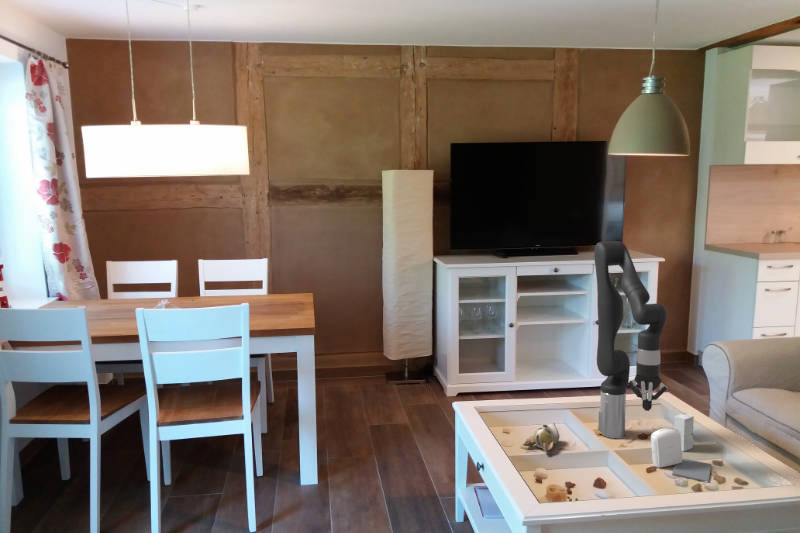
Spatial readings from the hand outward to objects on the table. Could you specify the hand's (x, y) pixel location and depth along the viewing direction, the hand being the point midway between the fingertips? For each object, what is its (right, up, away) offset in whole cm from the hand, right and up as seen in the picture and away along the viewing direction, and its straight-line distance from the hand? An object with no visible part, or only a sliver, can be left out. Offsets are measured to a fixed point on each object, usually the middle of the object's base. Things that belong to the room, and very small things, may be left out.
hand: (647, 410), depth 201 cm
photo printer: (+6, -18, -2) cm, 19 cm away
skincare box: (+18, -17, +12) cm, 28 cm away
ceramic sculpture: (-32, -18, +15) cm, 40 cm away
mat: (+13, -19, -6) cm, 24 cm away
